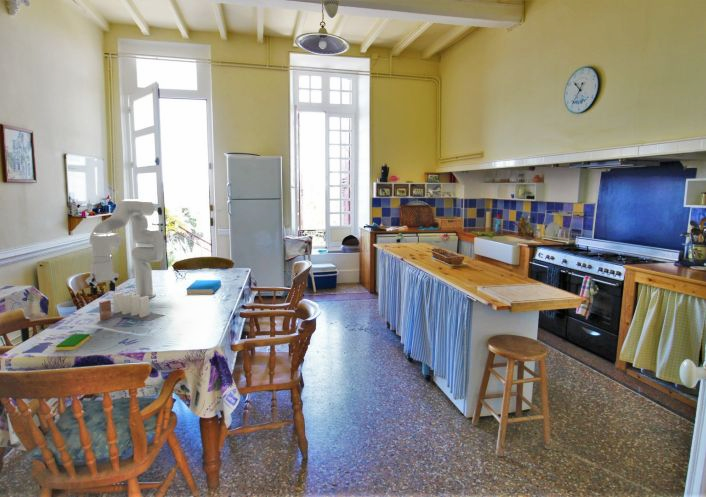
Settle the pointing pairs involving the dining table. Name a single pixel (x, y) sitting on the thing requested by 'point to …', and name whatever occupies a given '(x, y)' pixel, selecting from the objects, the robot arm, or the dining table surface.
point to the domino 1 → (105, 309)
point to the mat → (146, 318)
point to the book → (203, 287)
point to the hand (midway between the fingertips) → (103, 292)
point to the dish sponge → (73, 342)
